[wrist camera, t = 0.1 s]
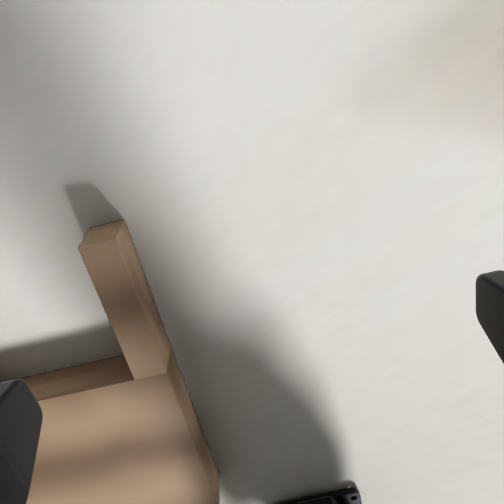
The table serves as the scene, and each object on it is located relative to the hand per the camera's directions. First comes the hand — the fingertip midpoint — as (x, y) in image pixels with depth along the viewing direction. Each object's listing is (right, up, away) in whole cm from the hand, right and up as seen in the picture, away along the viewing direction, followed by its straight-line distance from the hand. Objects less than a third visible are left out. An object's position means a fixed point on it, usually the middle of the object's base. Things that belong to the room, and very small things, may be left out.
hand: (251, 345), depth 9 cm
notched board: (-10, -6, +19) cm, 22 cm away
